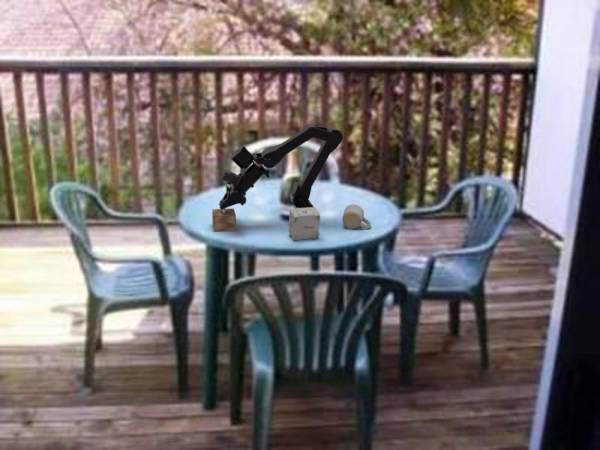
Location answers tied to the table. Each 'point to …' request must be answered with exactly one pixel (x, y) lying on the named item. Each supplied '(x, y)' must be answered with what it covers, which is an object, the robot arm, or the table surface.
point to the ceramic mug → (354, 217)
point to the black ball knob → (221, 204)
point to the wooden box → (224, 220)
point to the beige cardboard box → (304, 223)
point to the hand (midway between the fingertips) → (220, 207)
